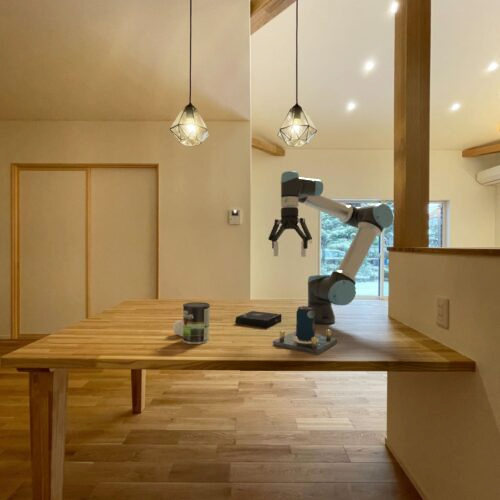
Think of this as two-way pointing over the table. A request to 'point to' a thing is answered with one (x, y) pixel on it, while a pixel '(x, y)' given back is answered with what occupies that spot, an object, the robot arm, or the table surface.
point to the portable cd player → (258, 319)
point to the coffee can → (196, 323)
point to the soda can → (305, 323)
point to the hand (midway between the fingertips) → (289, 256)
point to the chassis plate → (306, 342)
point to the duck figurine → (178, 327)
